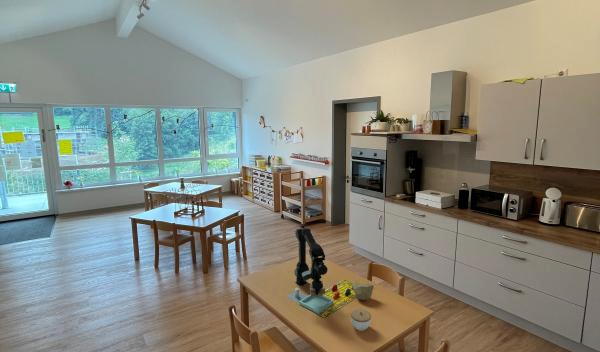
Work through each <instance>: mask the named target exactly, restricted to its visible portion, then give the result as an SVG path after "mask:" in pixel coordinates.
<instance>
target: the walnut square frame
mask: <svg viewBox="0 0 600 352" xmlns="http://www.w3.org/2000/svg"><path fill="white" fill-rule="evenodd" d="M309 293H310V294H311V297H314V296H324V295H326V289H325V288H324V287H323V288H321V289H320V291H319V293H318V295H316V293H315V288H312V283H310V284H309ZM310 294H309V295H310Z"/></svg>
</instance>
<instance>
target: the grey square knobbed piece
mask: <svg viewBox="0 0 600 352" xmlns="http://www.w3.org/2000/svg"><path fill="white" fill-rule="evenodd" d="M307 296H308V295H307V294H304V293H303V292H301V291H300V288H298V287H296V288H295V289H294V292H292V293H290V294H288V295H287V296H286V298H287V299H289V300H291V301H293V302H294V303H297V304H299V301H300V300H302V299H303V298H305V297H307Z"/></svg>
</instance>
